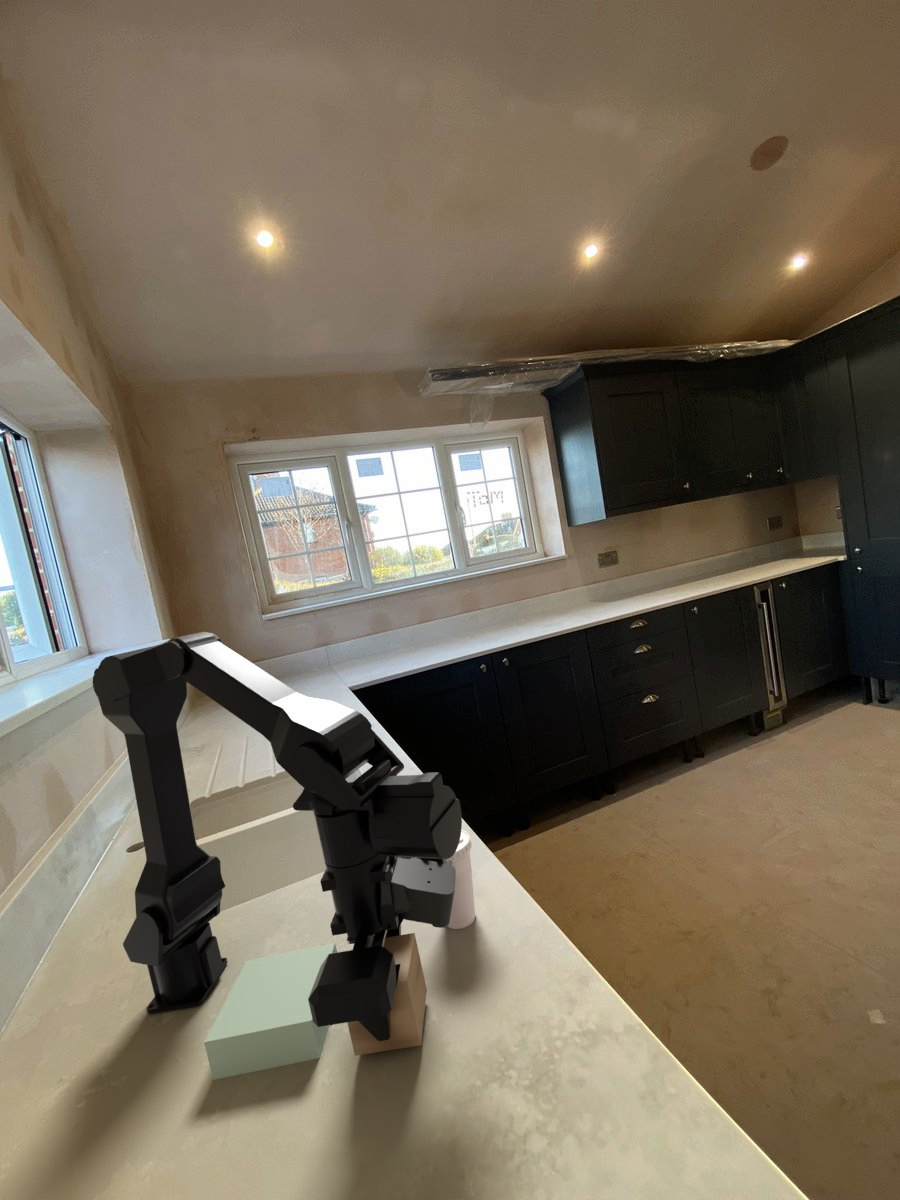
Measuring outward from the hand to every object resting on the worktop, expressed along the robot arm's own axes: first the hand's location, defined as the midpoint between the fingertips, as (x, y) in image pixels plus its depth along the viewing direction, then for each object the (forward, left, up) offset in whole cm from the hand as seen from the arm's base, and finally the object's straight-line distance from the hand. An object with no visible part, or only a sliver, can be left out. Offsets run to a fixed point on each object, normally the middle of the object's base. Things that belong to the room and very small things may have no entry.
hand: (390, 1008), depth 48 cm
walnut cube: (0, 0, -1) cm, 1 cm away
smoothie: (+6, +14, -2) cm, 15 cm away
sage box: (-12, +3, -2) cm, 13 cm away
